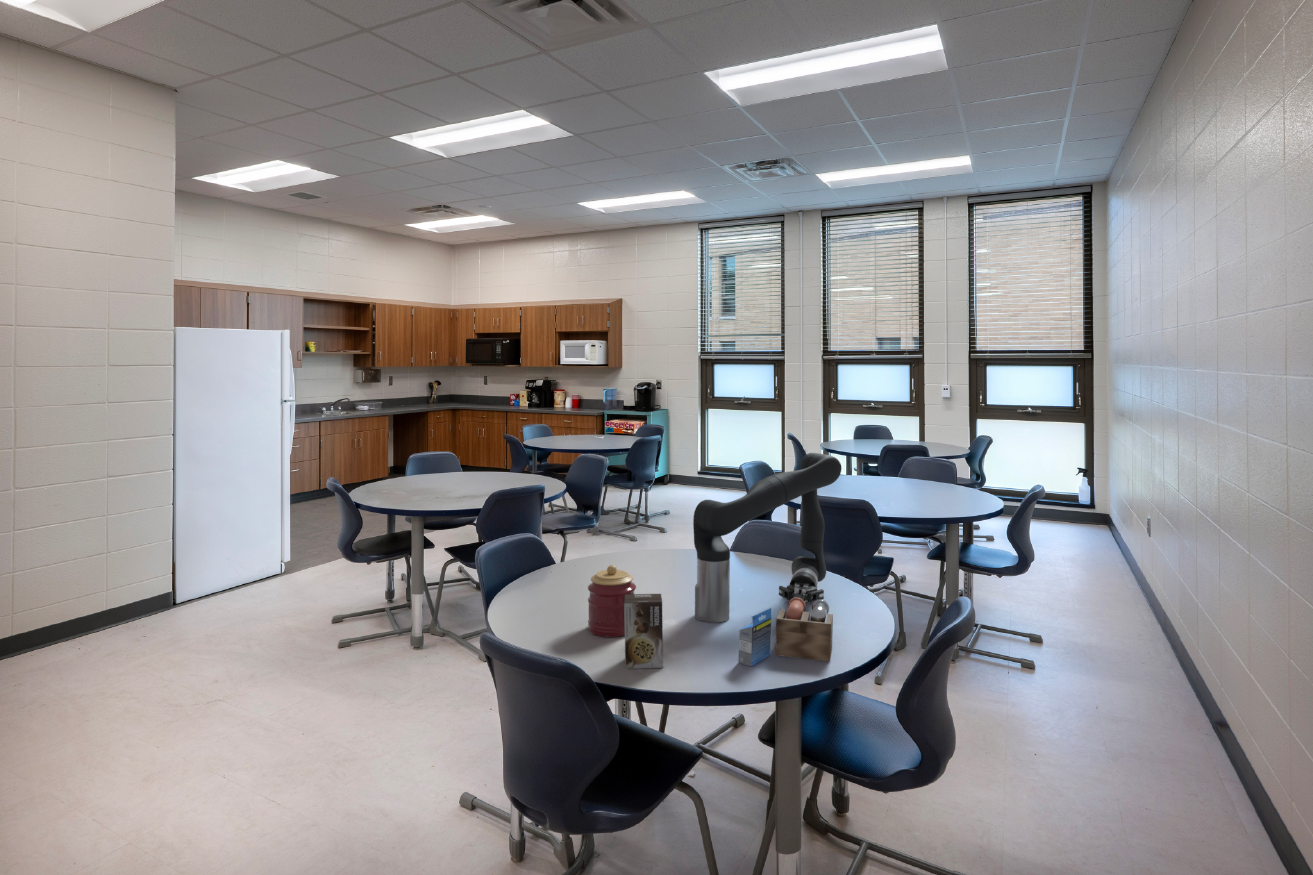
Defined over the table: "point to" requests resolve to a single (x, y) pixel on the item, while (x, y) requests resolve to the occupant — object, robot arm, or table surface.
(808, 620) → the wooden plug holder
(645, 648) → the coffee box
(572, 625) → the table surface
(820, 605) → the steel plug
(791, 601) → the brick plug
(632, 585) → the canister
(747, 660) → the label tape box
